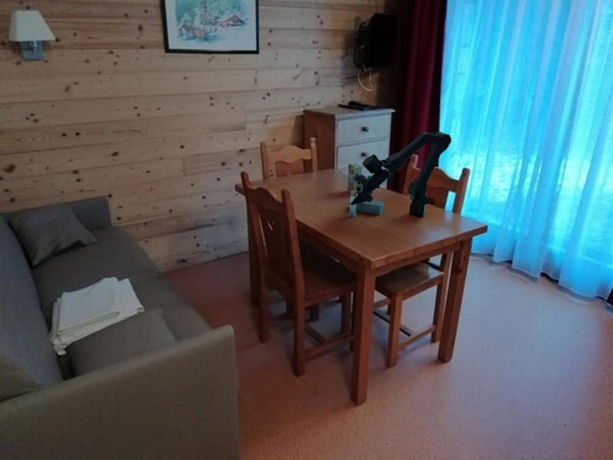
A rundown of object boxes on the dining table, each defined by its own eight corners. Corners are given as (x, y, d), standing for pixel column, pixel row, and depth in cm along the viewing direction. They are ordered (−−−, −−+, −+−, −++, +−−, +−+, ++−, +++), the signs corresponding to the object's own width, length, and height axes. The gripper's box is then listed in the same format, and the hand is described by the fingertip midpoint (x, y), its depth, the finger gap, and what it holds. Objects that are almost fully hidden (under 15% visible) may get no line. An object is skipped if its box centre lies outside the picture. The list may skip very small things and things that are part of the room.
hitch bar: (383, 210, 217) (384, 201, 216) (379, 215, 212) (380, 206, 210) (354, 205, 223) (354, 196, 222) (348, 209, 217) (349, 200, 216)
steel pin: (356, 215, 210) (358, 190, 206) (354, 217, 208) (356, 192, 203) (350, 214, 211) (352, 189, 207) (348, 216, 209) (349, 191, 204)
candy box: (346, 190, 246) (348, 163, 240) (353, 190, 247) (355, 162, 241) (352, 195, 238) (354, 167, 232) (360, 195, 239) (362, 166, 234)
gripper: (362, 161, 209) (337, 184, 213) (367, 172, 192) (339, 196, 196) (378, 179, 212) (353, 200, 216) (384, 190, 195) (356, 214, 199)
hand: (350, 202), depth 207 cm, fingers open, 6 cm apart
